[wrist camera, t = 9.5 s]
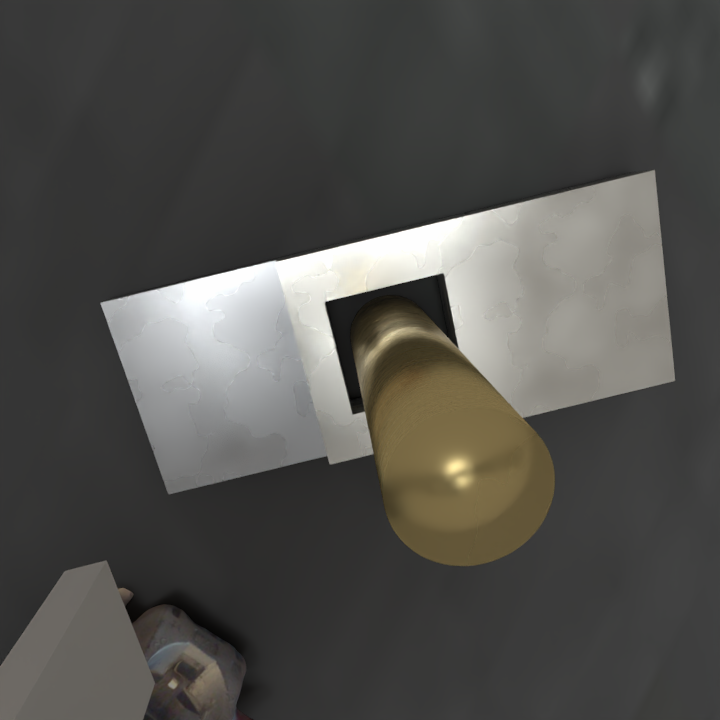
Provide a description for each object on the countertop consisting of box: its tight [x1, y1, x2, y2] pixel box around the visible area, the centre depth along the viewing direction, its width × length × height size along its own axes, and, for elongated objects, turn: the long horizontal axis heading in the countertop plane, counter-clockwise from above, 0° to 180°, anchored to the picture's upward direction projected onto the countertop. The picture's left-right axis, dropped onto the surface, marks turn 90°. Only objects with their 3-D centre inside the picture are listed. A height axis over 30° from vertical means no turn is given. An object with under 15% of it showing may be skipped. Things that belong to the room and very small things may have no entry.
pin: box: [350, 295, 555, 566], centre depth 20 cm, size 4×4×15 cm
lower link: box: [101, 214, 464, 494], centre depth 26 cm, size 16×9×1 cm, turn 103°
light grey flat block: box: [275, 170, 675, 465], centre depth 26 cm, size 16×9×2 cm, turn 103°
